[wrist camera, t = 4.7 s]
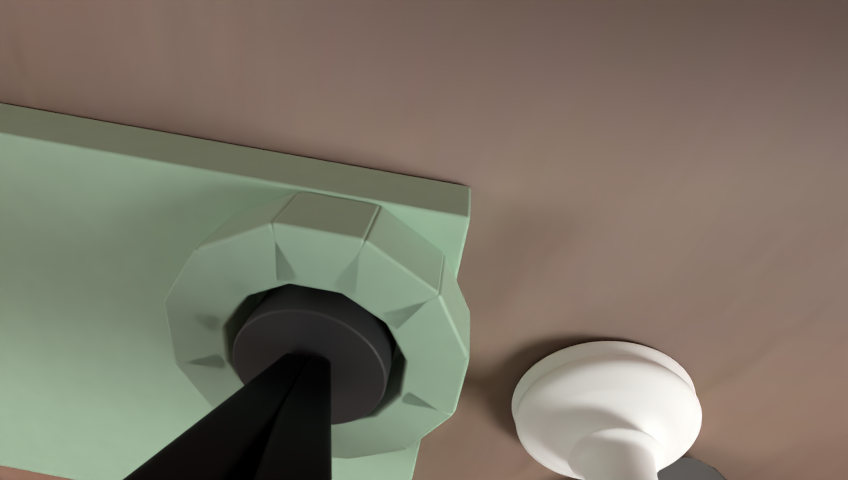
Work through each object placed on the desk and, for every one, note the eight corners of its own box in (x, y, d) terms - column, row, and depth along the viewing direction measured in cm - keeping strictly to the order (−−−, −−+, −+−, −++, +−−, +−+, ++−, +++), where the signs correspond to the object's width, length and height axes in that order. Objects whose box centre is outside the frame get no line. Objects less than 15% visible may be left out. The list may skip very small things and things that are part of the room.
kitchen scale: (491, 189, 10) (496, 261, 7) (417, 497, 16) (405, 598, 13) (-137, 77, 10) (-355, 106, 7) (25, 421, 16) (-64, 505, 13)
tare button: (407, 277, 9) (394, 327, 8) (391, 380, 10) (378, 437, 9) (262, 250, 9) (224, 295, 8) (267, 357, 10) (236, 410, 9)
